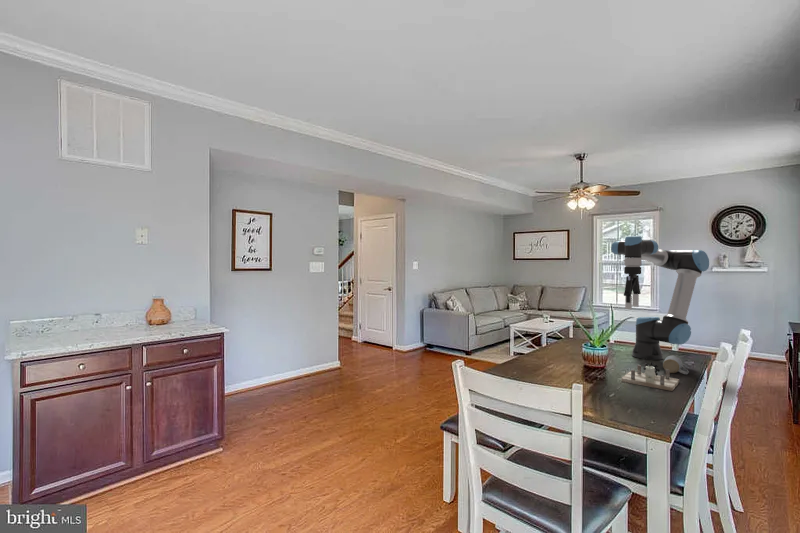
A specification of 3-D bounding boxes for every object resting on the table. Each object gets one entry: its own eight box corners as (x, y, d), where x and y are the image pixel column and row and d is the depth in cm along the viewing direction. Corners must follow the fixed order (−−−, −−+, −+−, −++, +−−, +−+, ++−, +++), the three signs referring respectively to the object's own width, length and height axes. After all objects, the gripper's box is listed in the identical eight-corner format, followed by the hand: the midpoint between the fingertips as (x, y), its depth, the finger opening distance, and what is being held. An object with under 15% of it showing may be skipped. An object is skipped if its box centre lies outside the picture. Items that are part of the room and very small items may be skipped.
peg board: (630, 373, 203) (630, 362, 203) (679, 382, 189) (679, 370, 189) (621, 381, 191) (621, 369, 191) (672, 391, 178) (672, 378, 178)
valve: (658, 383, 183) (659, 377, 193) (658, 369, 182) (660, 363, 192) (641, 381, 186) (643, 374, 196) (641, 366, 186) (643, 361, 196)
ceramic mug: (661, 372, 206) (662, 357, 206) (664, 368, 212) (665, 353, 212) (687, 376, 199) (688, 360, 199) (689, 372, 206) (690, 357, 205)
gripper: (631, 265, 221) (630, 304, 222) (617, 266, 203) (616, 309, 203) (646, 265, 216) (646, 306, 217) (634, 267, 198) (633, 311, 198)
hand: (632, 307), depth 210 cm, fingers open, 13 cm apart
